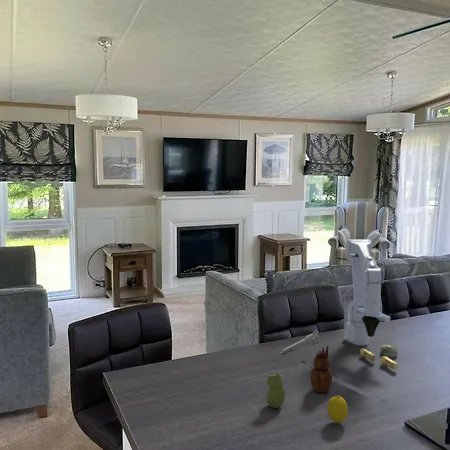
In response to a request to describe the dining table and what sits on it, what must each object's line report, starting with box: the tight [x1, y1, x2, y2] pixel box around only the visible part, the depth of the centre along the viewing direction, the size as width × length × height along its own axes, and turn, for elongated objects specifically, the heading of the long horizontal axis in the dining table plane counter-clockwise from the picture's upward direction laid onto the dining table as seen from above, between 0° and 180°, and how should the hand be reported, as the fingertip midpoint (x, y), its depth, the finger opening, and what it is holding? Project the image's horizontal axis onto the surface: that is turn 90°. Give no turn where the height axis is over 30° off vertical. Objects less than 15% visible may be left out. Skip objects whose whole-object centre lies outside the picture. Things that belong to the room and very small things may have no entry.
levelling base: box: [380, 344, 398, 359], centre depth 167 cm, size 14×20×5 cm
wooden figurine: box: [310, 345, 333, 394], centre depth 143 cm, size 7×6×15 cm
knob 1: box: [359, 347, 376, 362], centre depth 165 cm, size 2×7×3 cm, turn 17°
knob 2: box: [380, 355, 398, 371], centre depth 158 cm, size 2×7×3 cm, turn 17°
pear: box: [265, 373, 286, 409], centre depth 134 cm, size 6×5×10 cm
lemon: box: [327, 395, 349, 424], centre depth 125 cm, size 6×6×8 cm
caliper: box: [279, 329, 320, 355], centre depth 180 cm, size 21×1×6 cm, turn 124°
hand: (370, 335), depth 166 cm, fingers closed
